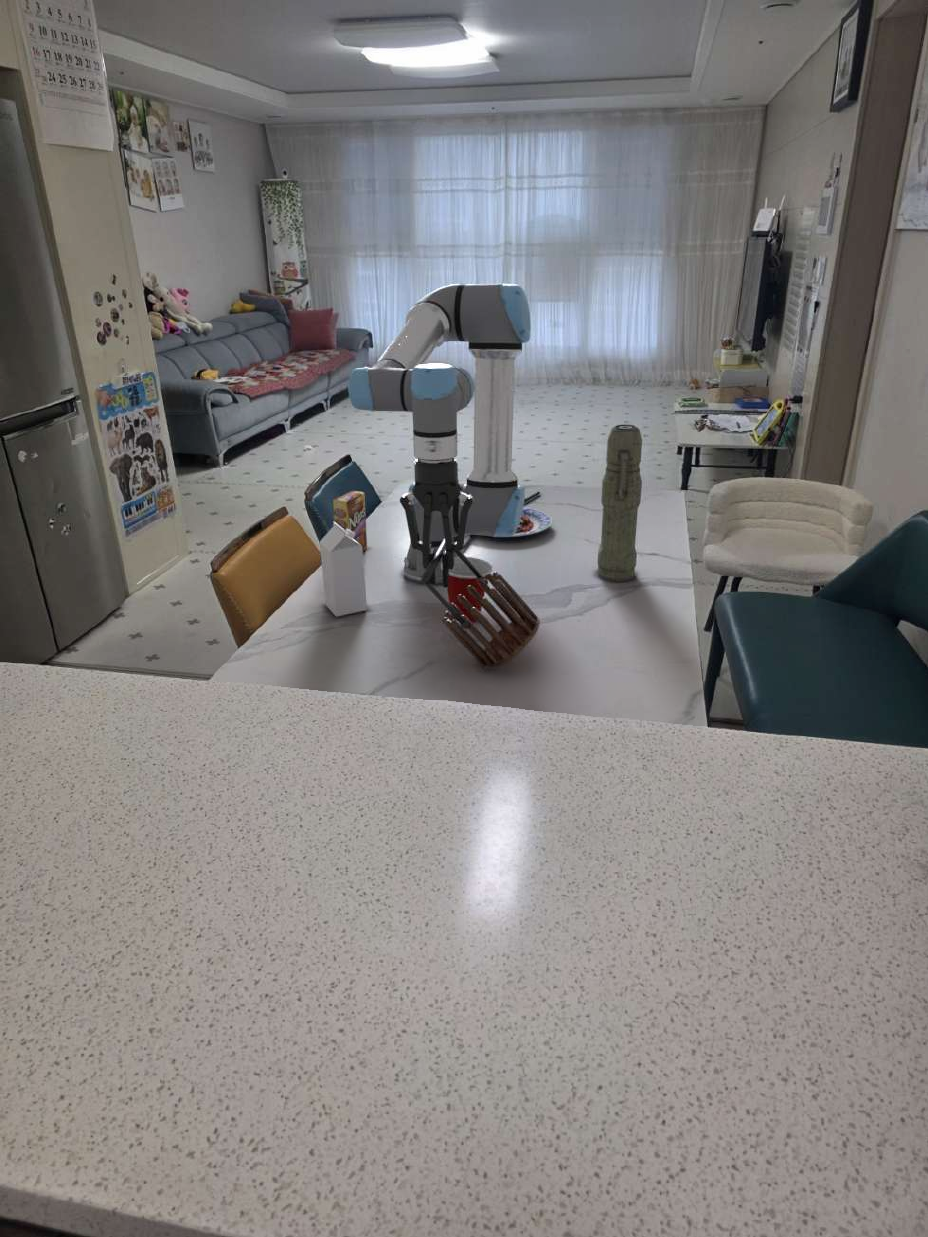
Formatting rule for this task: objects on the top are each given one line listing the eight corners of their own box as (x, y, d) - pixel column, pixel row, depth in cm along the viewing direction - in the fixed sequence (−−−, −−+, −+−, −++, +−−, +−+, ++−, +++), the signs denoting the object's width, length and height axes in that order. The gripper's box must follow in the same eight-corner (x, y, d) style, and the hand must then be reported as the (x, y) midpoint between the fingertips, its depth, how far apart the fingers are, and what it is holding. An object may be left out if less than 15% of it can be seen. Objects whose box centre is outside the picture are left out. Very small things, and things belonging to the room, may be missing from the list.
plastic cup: (488, 630, 170) (487, 575, 164) (436, 626, 172) (435, 572, 167) (496, 608, 179) (496, 556, 174) (448, 605, 181) (446, 554, 176)
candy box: (350, 559, 208) (345, 501, 201) (336, 557, 209) (331, 499, 203) (368, 548, 215) (364, 491, 209) (354, 546, 217) (350, 490, 210)
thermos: (631, 565, 201) (641, 420, 186) (638, 584, 190) (650, 432, 175) (594, 565, 201) (602, 421, 186) (599, 584, 190) (608, 432, 176)
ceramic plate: (568, 522, 231) (568, 511, 230) (524, 549, 212) (524, 538, 211) (489, 508, 244) (489, 499, 243) (441, 533, 225) (440, 523, 223)
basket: (419, 553, 158) (473, 516, 151) (492, 634, 165) (547, 602, 157) (393, 597, 145) (449, 560, 138) (473, 683, 152) (531, 652, 144)
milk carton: (336, 617, 176) (328, 533, 168) (325, 605, 182) (317, 524, 174) (367, 610, 179) (361, 527, 171) (355, 599, 185) (349, 518, 177)
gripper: (389, 462, 139) (395, 591, 149) (476, 464, 138) (477, 593, 148) (397, 452, 146) (402, 576, 156) (480, 453, 145) (481, 578, 154)
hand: (439, 584), depth 152 cm, fingers closed on basket, 2 cm apart
